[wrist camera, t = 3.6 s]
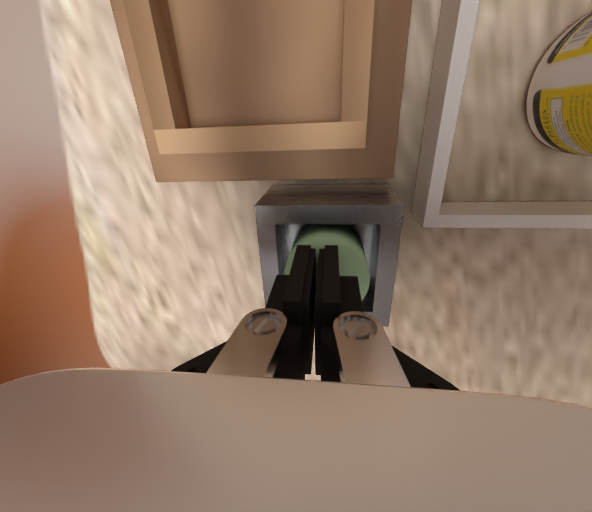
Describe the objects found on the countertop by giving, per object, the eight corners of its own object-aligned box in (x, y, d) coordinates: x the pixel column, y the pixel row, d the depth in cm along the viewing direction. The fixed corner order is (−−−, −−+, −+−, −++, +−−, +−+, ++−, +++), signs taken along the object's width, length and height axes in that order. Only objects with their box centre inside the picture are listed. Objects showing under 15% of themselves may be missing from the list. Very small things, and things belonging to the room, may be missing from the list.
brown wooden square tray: (427, -212, 9) (461, -334, 7) (388, 173, 14) (399, 184, 12) (91, -149, 11) (19, -227, 8) (168, 177, 16) (138, 188, 13)
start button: (367, 221, 13) (373, 242, 11) (362, 287, 14) (366, 317, 12) (289, 221, 13) (281, 241, 11) (293, 285, 15) (285, 313, 13)
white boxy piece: (387, 183, 14) (404, 205, 11) (377, 282, 17) (388, 326, 14) (273, 185, 15) (254, 205, 12) (280, 279, 18) (266, 320, 14)
